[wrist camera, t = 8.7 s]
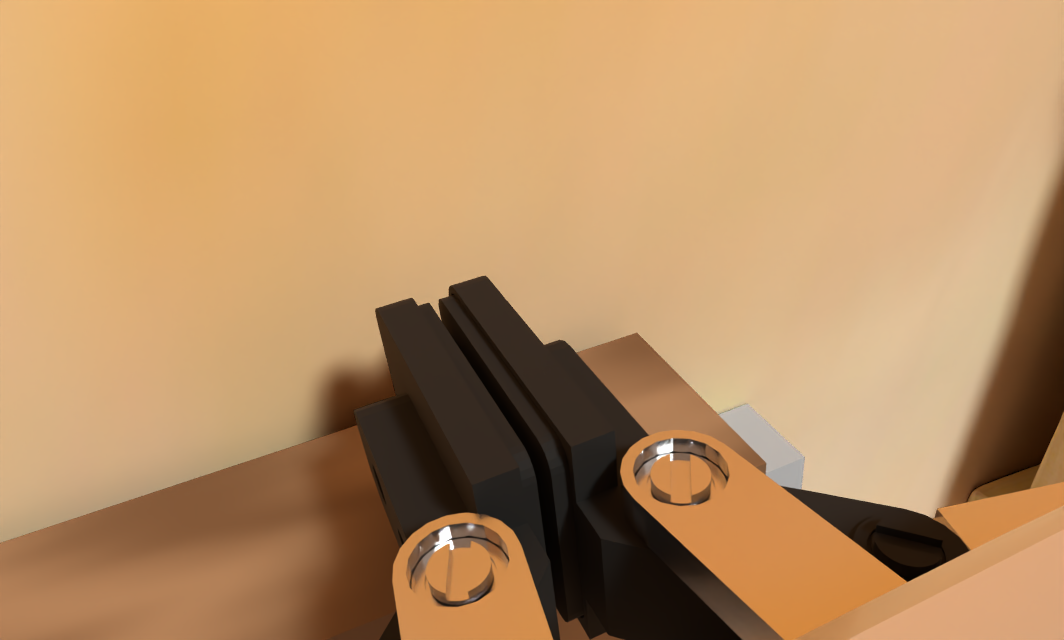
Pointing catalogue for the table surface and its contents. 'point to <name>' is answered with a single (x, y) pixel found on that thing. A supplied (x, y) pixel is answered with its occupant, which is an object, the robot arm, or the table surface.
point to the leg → (272, 539)
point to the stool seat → (767, 446)
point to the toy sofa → (1030, 472)
